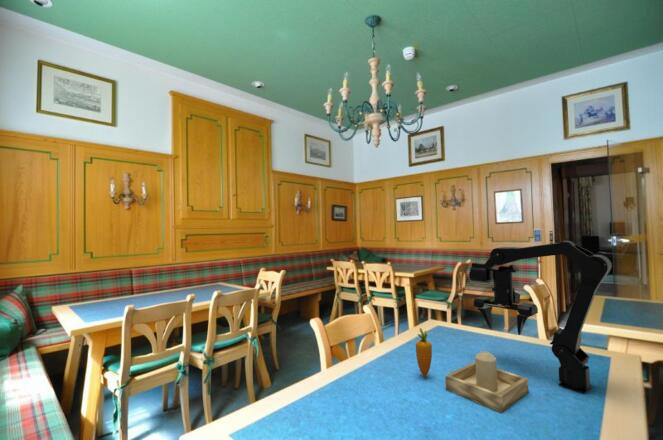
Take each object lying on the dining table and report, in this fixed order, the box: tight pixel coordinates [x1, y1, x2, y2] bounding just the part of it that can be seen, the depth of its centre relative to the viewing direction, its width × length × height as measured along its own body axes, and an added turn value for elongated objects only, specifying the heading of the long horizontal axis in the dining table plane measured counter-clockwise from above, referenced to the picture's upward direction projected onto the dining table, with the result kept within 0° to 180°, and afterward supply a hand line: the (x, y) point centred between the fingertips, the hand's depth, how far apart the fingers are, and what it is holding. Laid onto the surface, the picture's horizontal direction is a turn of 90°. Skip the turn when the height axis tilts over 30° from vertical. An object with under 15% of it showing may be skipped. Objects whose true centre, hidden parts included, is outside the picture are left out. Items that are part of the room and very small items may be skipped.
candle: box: [474, 350, 498, 392], centre depth 95 cm, size 6×6×10 cm
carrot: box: [415, 327, 433, 378], centre depth 105 cm, size 5×5×15 cm
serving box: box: [445, 361, 530, 414], centre depth 95 cm, size 16×16×4 cm
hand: (504, 331), depth 111 cm, fingers open, 9 cm apart
